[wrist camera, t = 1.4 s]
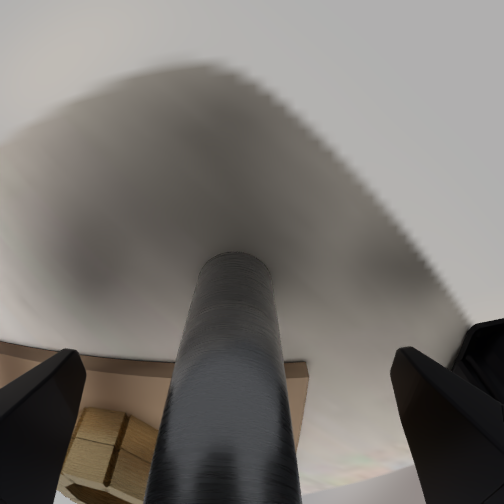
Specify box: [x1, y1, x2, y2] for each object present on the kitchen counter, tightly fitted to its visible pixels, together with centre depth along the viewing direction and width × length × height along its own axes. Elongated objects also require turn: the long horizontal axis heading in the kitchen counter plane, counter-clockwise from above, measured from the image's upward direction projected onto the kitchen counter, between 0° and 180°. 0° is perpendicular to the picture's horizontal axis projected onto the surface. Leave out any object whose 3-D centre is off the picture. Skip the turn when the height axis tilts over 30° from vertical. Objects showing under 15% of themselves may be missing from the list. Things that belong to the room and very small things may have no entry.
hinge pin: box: [143, 252, 302, 504], centre depth 8 cm, size 3×3×9 cm
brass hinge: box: [57, 407, 159, 504], centre depth 13 cm, size 19×6×4 cm, turn 91°
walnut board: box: [0, 341, 309, 452], centre depth 15 cm, size 20×12×1 cm, turn 91°
